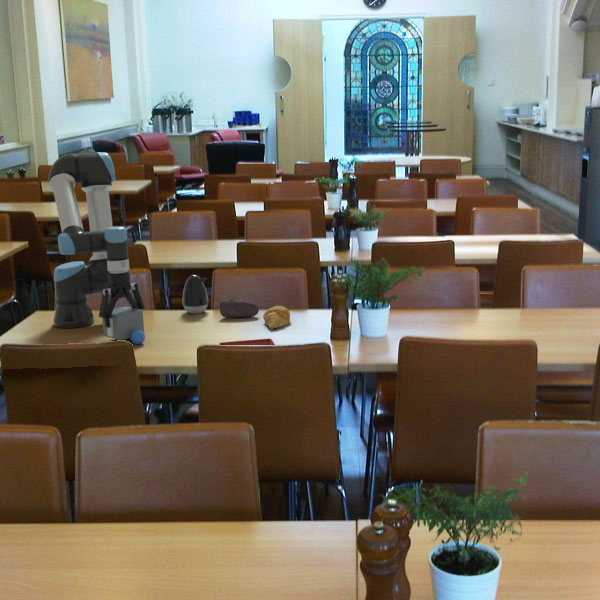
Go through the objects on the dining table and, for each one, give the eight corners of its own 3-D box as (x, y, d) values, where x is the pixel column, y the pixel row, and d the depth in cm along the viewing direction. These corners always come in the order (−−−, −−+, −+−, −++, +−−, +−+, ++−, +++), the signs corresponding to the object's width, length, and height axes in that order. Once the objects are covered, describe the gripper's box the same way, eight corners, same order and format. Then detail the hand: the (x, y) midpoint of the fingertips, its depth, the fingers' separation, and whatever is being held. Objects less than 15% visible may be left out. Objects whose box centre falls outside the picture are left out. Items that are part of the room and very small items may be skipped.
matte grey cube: (103, 335, 308) (101, 311, 307) (127, 329, 316) (125, 306, 314) (120, 340, 301) (118, 315, 300) (144, 334, 309) (142, 309, 307)
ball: (127, 343, 304) (127, 330, 303) (139, 340, 308) (138, 327, 306) (136, 347, 301) (136, 333, 299) (148, 343, 304) (147, 330, 303)
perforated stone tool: (260, 315, 338) (259, 298, 336) (257, 319, 333) (257, 301, 331) (222, 315, 340) (221, 298, 338) (219, 319, 335) (218, 301, 333)
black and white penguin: (204, 315, 340) (202, 277, 337) (179, 315, 342) (177, 277, 339) (212, 309, 350) (210, 272, 346) (188, 308, 352) (185, 272, 348)
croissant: (280, 340, 316) (289, 321, 314) (255, 327, 316) (264, 309, 314) (289, 323, 337) (298, 306, 334) (266, 312, 337) (274, 294, 334)
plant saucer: (281, 362, 279) (281, 352, 279) (225, 367, 276) (225, 357, 275) (271, 347, 297) (271, 338, 296) (218, 352, 293) (218, 342, 292)
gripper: (96, 277, 293) (102, 341, 298) (151, 267, 309) (156, 327, 314) (84, 275, 298) (90, 338, 303) (139, 265, 314) (143, 324, 319)
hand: (123, 332), depth 308 cm, fingers closed on matte grey cube, 10 cm apart
